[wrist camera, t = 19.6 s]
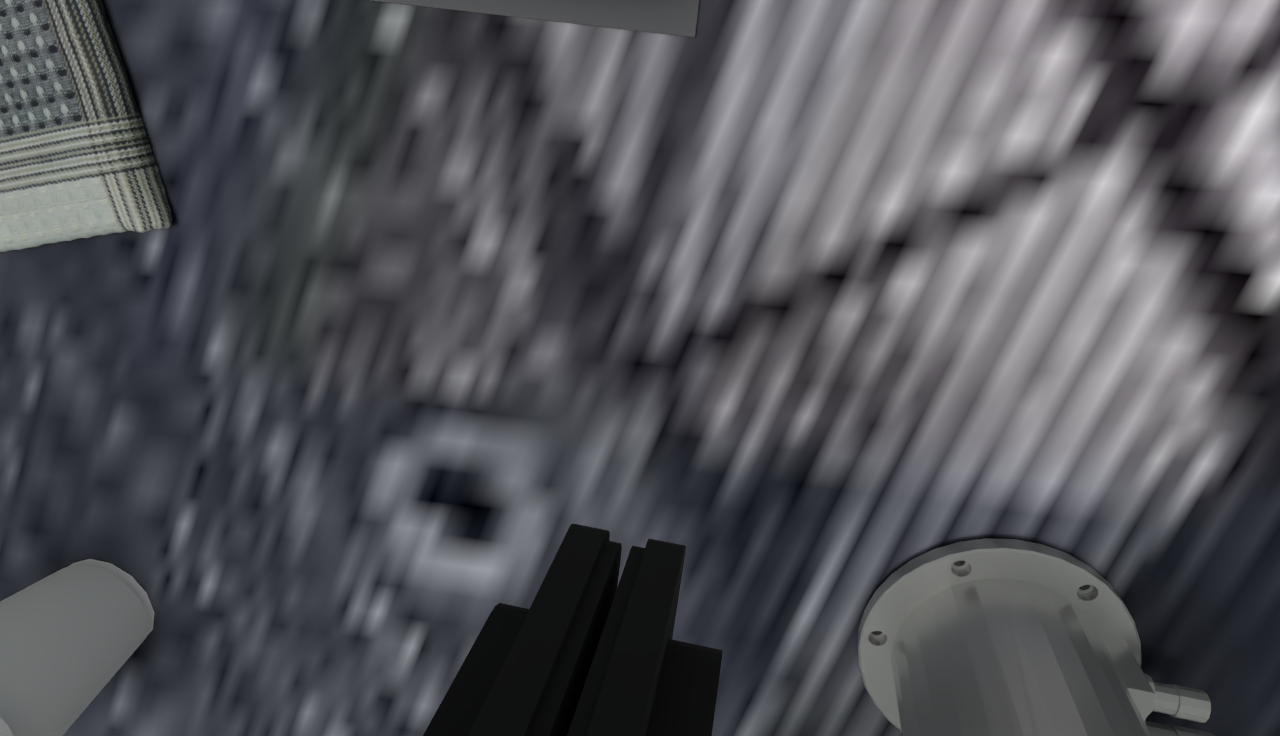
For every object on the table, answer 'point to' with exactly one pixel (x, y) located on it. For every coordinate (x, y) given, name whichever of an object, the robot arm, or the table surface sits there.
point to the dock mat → (587, 12)
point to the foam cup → (66, 644)
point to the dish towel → (70, 130)
